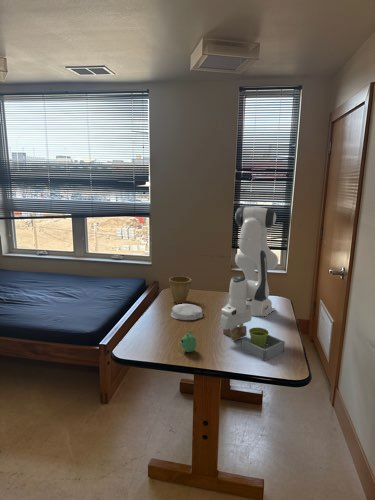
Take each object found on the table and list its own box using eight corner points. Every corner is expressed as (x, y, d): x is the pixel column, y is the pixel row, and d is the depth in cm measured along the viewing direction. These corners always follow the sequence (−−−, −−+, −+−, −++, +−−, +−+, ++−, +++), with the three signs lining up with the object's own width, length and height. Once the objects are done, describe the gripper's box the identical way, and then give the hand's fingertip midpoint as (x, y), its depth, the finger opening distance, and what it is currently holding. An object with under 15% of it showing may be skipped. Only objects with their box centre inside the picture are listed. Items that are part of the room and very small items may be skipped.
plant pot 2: (264, 354, 161) (265, 337, 159) (245, 349, 165) (246, 332, 164) (269, 346, 169) (271, 330, 167) (251, 342, 173) (252, 326, 172)
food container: (181, 307, 222) (181, 297, 221) (208, 313, 212) (208, 302, 211) (164, 317, 205) (163, 307, 204) (192, 324, 195) (192, 313, 194)
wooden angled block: (231, 330, 187) (231, 321, 186) (246, 335, 179) (246, 326, 178) (218, 335, 180) (218, 326, 180) (233, 340, 172) (233, 331, 172)
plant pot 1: (182, 307, 221) (183, 283, 218) (164, 302, 229) (164, 279, 226) (195, 300, 233) (195, 278, 230) (177, 296, 241) (177, 275, 238)
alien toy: (182, 346, 167) (183, 327, 165) (197, 349, 165) (198, 329, 163) (178, 353, 161) (178, 333, 159) (193, 356, 158) (194, 335, 157)
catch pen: (261, 341, 174) (262, 332, 173) (284, 351, 164) (284, 341, 163) (242, 349, 165) (242, 340, 164) (264, 361, 155) (265, 350, 154)
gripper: (245, 301, 184) (244, 325, 186) (218, 310, 171) (218, 335, 173) (255, 305, 179) (253, 329, 182) (228, 313, 166) (227, 340, 169)
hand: (236, 332), depth 177 cm, fingers closed on wooden angled block, 3 cm apart
